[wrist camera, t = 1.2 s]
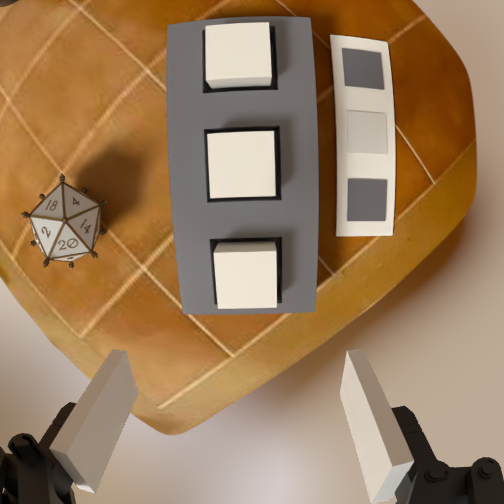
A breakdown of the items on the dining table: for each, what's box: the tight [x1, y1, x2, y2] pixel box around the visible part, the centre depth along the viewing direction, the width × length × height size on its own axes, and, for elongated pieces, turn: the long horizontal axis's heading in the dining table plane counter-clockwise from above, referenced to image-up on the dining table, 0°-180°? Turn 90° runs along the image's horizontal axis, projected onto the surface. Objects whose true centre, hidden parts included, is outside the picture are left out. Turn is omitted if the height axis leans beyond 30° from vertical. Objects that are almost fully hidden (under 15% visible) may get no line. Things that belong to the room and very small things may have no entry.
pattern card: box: [330, 35, 395, 236], centre depth 26 cm, size 20×6×1 cm, turn 2°
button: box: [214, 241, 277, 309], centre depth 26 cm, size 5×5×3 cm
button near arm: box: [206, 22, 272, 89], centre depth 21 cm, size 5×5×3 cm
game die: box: [21, 174, 108, 268], centre depth 26 cm, size 9×8×10 cm
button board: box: [166, 16, 319, 314], centre depth 26 cm, size 26×12×4 cm, turn 2°
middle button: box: [207, 131, 276, 198], centre depth 24 cm, size 5×5×3 cm
